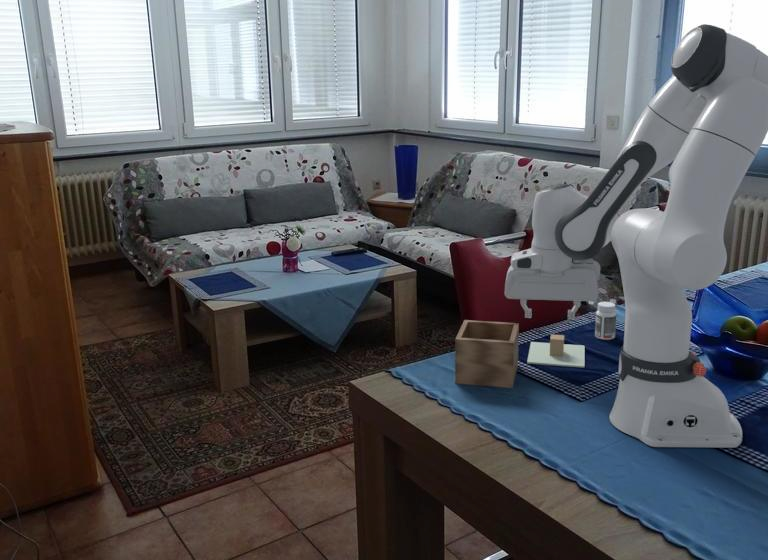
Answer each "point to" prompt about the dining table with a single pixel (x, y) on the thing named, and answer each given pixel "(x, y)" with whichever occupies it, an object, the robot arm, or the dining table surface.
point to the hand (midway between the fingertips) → (549, 317)
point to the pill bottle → (605, 321)
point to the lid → (556, 353)
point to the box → (486, 353)
